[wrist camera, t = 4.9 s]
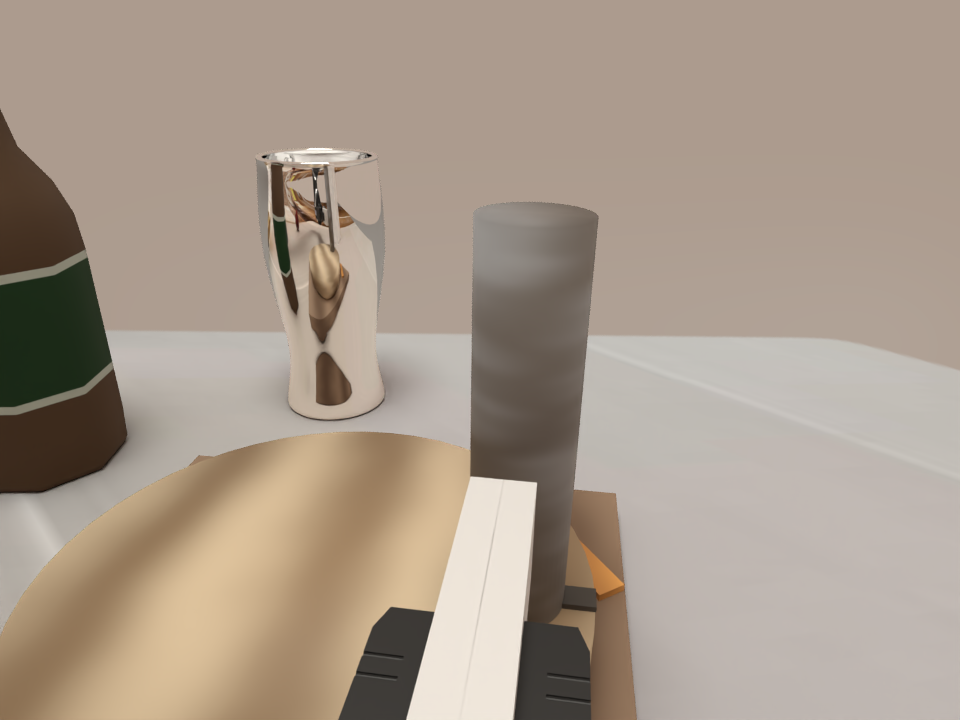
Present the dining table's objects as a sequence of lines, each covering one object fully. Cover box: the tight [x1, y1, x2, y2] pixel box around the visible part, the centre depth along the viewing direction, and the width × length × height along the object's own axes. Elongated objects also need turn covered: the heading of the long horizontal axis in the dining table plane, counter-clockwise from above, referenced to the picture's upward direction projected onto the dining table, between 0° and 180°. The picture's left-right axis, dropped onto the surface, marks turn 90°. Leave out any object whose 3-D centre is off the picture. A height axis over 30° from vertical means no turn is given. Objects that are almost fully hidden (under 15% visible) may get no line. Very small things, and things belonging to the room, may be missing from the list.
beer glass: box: [255, 148, 385, 420], centre depth 39 cm, size 7×7×15 cm
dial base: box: [188, 455, 637, 720], centre depth 23 cm, size 21×21×2 cm
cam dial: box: [0, 202, 598, 720], centre depth 20 cm, size 18×18×15 cm
